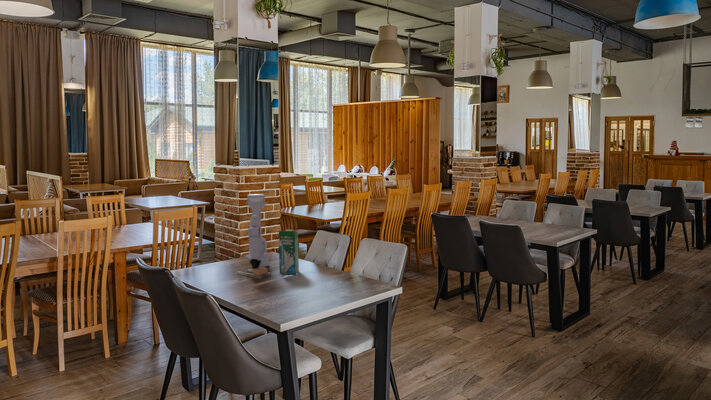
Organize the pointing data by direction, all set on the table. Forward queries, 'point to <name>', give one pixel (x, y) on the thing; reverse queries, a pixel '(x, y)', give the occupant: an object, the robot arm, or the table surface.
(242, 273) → the chute
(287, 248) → the milk carton
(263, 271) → the block
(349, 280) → the table surface
